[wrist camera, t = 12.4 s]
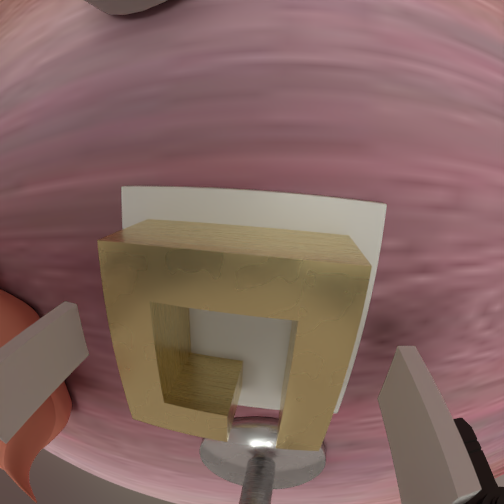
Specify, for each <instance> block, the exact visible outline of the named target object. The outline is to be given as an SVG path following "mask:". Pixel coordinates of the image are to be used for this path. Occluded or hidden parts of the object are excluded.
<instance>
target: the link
mask: <svg viewBox="0 0 504 504" xmlns="http://www.w3.org/2000/svg"><path fill="white" fill-rule="evenodd" d="M97 241H98V252H99V262H100V271H101V279H102V287H103V294H104V300H105V306H106V312H107V318H108V323H109V329H110V334H111V339H112V343H113V348H114V352H115V357H116V361H117V365H118V369H119V373H120V377H121V381H122V385H123V388H124V392H125V395H126V399H127V402H128V405H129V409H130V412H131V415H132V418H133V419H135V420H138V421H142V422H145V423H148V424H151V425H155V426H158V427H162V428H166V429H169V430H173V431H177V432H181V433H185V434H189V435H194V436H198V437H203V438H208V439H213V440H218V441H224V442H228V438H229V434H230V431H231V427H232V423H233V419H234V416H235V412H236V408H237V404H238V401H239V397H240V393H241V389H242V374H243V361H240V360H233V359H226V358H220V357H213V356H207V355H202V354H196V353H191V339H190V320H189V308H194V309H201V310H208V311H215V312H223V313H230V314H239V315H247V316H256V317H265V318H274V319H284V320H292V325H291V333H290V340H289V347H288V354H287V360H286V367H285V373H284V380H283V386H282V392H281V402H280V412H279V421H278V431H277V440H276V449H288V450H305V451H319V450H320V447H321V445H322V442H323V440H324V437H325V434H326V432H327V429H328V426H329V424H330V421H331V418H332V415H333V413H334V410H335V407H336V404H337V401H338V398H339V395H340V392H341V389H342V386H343V382H344V379H345V376H346V373H347V369H348V366H349V362H350V359H351V355H352V352H353V348H354V344H355V341H356V337H357V333H358V329H359V325H360V321H361V317H362V312H363V308H364V303H365V299H366V294H367V289H368V284H369V279H370V274H371V269H372V266H371V264H370V263H369V261H368V260H367V259H366V257H365V256H364V255H363V253H362V252H361V251H360V249H359V248H358V247H357V245H356V244H355V243H354V241H353V240H352V239H351V238H350V236H349V235H340V234H330V233H320V232H309V231H299V230H288V229H276V228H265V227H253V226H241V225H228V224H215V223H201V222H186V221H171V220H155V219H147V220H144V221H142V222H139V223H137V224H135V225H132V226H130V227H127V228H125V229H122V230H120V231H118V232H115V233H113V234H111V235H108V236H106V237H104V238H101V239H99V240H97Z"/></svg>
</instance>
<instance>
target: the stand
mask: <svg viewBox="0 0 504 504" xmlns="http://www.w3.org/2000/svg"><path fill="white" fill-rule="evenodd" d="M278 421H279V419H275V418H267V417H241V418H234V419H233V423H232V427H231V431H230V434H229V438H228V442H224V441H218V440H213V439H208V438H203V441H202V443H201V446H200V457H201V459H202V461H203V463H204V464H205V466H206V467H207V468H208V469H209V470H211V471H212V472H213V473H215V474H216V475H218V476H219V477H221V478H223V479H225V480H227V481H230V482H232V483H235V484H238V485H242V486H243V487H242V491H241V496H240V501H239V504H271V498H272V490H273V489H282V488H289V487H294V486H298V485H301V484H304V483H306V482H308V481H310V480H312V479H314V478H315V477H316V476H318V475H319V474H320V473H321V472H322V470H323V469H324V466H325V461H326V458H325V446H324V444H323V442H322V445H321V447H320V450H319V451H305V450H288V449H276V440H277V431H278Z"/></svg>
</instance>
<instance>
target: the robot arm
mask: <svg viewBox="0 0 504 504" xmlns="http://www.w3.org/2000/svg"><path fill="white" fill-rule="evenodd" d="M88 355H89V353H88V349H87V345H86V342H85V338H84V334H83V330H82V325H81V321H80V316H79V312H78V307H77V304H74V303H71V302H67V301H65V302H63V303H62V304H60V305H59V306H57V307H56V308H54V309H53V310H52V311H50V312H49V313H47V314H46V315H44V316H43V317H42V318H40V319H39V320H37V321H36V322H35V323H33V324H32V325H30V326H29V327H28V328H26V329H25V330H24V331H22V332H21V333H20V334H18V335H17V336H16V337H14V338H13V339H12V340H10V341H9V342H8V343H6V344H5V345H4V346H2V347H1V348H0V440H2V441H3V442H4V443H5V444H7V443H8V442H9V440H10V439H11V438H12V437H13V436H14V435H15V434H16V432H17V431H18V430H19V429H20V428H21V427H22V426H23V425H24V423H25V422H26V421H27V420H28V419H29V418H30V417H31V416H32V415H33V413H34V412H35V411H36V410H37V409H38V408H39V407H40V406H41V405H42V404H43V403H44V401H45V400H46V399H47V398H48V397H49V396H50V395H51V394H52V393H53V392H54V391H55V390H56V389H57V388H58V387H59V385H60V384H61V383H62V382H63V381H64V380H65V379H66V378H67V377H68V376H69V375H70V374H71V373H72V372H73V371H74V370H75V369H76V368H77V367H78V366H79V365H80V364H81V363H82V362H83V361H84V360H85V359H86V357H87V356H88ZM378 402H379V406H380V409H381V413H382V417H383V421H384V425H385V429H386V433H387V437H388V441H389V445H390V449H391V454H392V458H393V463H394V467H395V472H396V477H397V482H398V487H399V492H400V498H401V503H402V504H504V487H498V485H497V483H496V482H495V479H494V476H493V474H492V471H491V469H490V467H489V464H488V462H487V460H486V457H485V455H484V453H483V450H482V451H481V446H480V444H479V442H478V441H477V437H476V435H475V433H474V431H473V429H472V427H471V426H470V425H469V424H468V423H467V422H466V421H465V420H464V419H463V418H457V419H453V418H452V416H451V414H450V412H449V410H448V408H447V406H446V403H445V401H444V399H443V397H442V395H441V393H440V391H439V389H438V388H437V386H436V384H435V382H434V380H433V378H432V376H431V374H430V372H429V370H428V368H427V367H426V365H425V363H424V361H423V359H422V358H421V356H420V354H419V352H418V350H417V349H416V347H415V346H397V349H396V352H395V355H394V358H393V361H392V363H391V366H390V369H389V371H388V374H387V377H386V379H385V382H384V384H383V387H382V389H381V391H380V394H379V396H378Z"/></svg>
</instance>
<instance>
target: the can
mask: <svg viewBox="0 0 504 504" xmlns="http://www.w3.org/2000/svg"><path fill="white" fill-rule="evenodd" d="M85 1H86V2H88V3H90V4H91V5H93V6H95V7H96V8H98V9H100V10H101V11H103V12H105V13H107V14H112V15H127V14H131V13H136V12H140V11H144V10H146V9H149V8H151V7H153V6H156V5H158V4H161V3H163V2H165V1H167V0H85Z"/></svg>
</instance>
